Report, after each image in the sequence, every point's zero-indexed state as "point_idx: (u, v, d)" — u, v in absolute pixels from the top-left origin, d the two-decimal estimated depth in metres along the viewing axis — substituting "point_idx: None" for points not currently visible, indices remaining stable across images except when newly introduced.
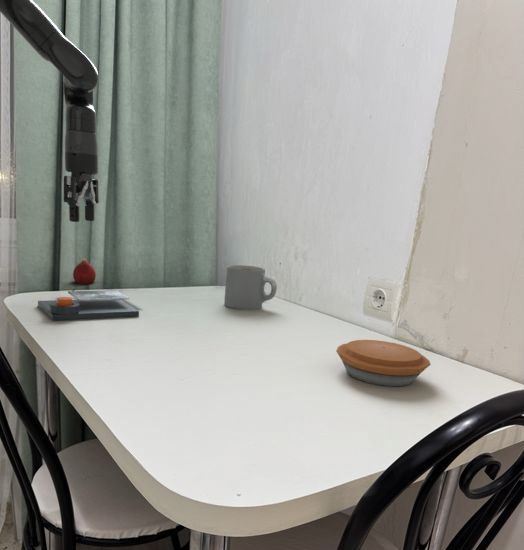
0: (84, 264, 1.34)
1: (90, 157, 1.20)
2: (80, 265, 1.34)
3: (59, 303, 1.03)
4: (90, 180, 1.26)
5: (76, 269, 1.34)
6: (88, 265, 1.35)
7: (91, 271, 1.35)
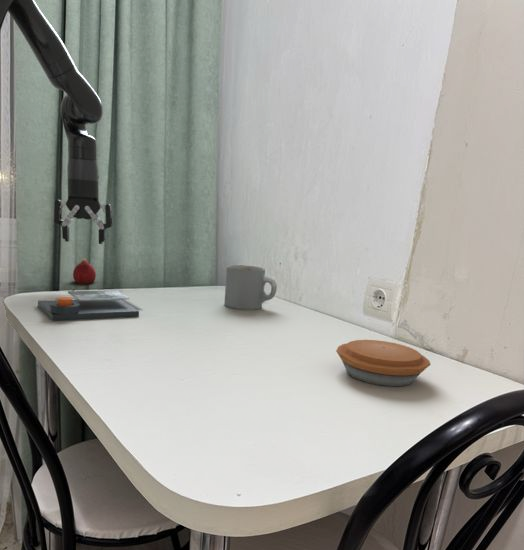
0: (84, 264, 1.34)
1: None
2: (80, 265, 1.34)
3: (59, 303, 1.03)
4: None
5: (76, 269, 1.34)
6: (88, 265, 1.35)
7: (91, 271, 1.35)
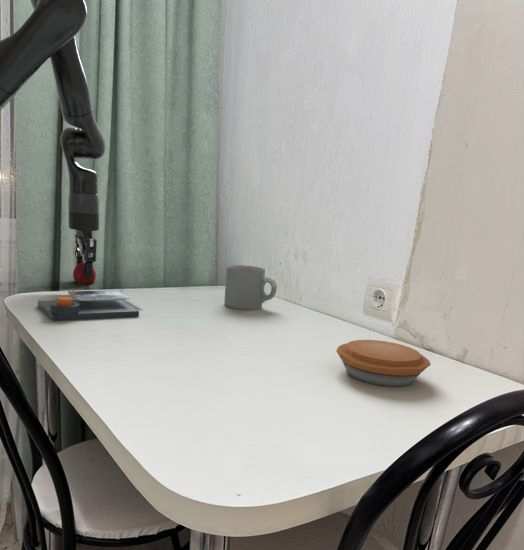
0: None
1: None
2: (80, 265, 1.34)
3: (59, 303, 1.03)
4: (82, 235, 1.31)
5: (76, 269, 1.34)
6: None
7: None
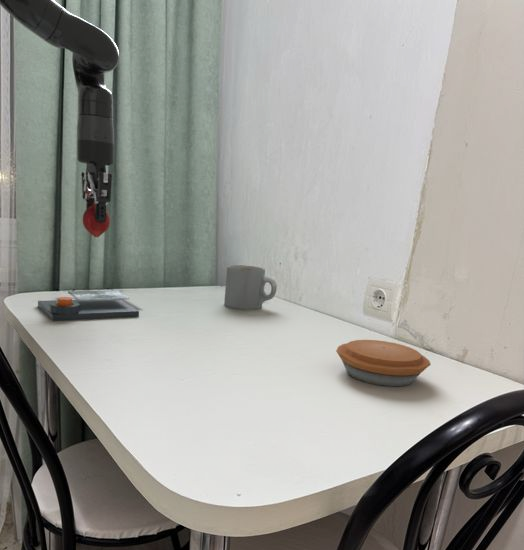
0: None
1: None
2: (91, 208, 1.10)
3: (59, 303, 1.03)
4: (94, 170, 1.07)
5: (86, 212, 1.10)
6: None
7: None
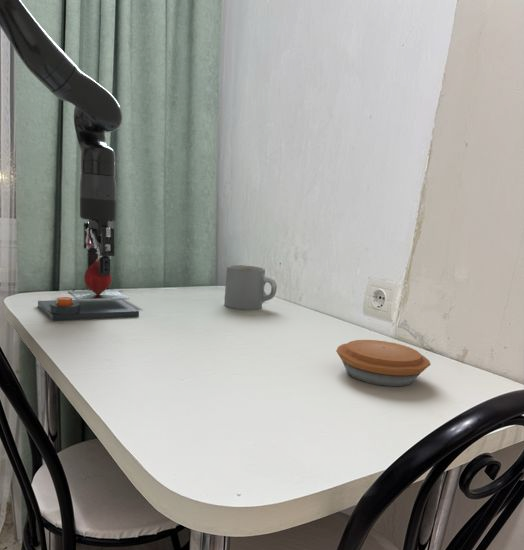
0: (98, 265, 1.11)
1: None
2: (93, 267, 1.11)
3: (59, 303, 1.03)
4: (96, 227, 1.08)
5: (88, 271, 1.11)
6: None
7: None
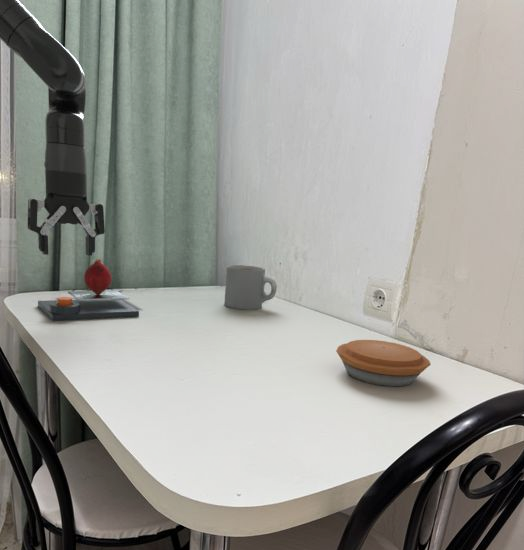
0: (98, 265, 1.11)
1: None
2: (93, 267, 1.11)
3: (59, 303, 1.03)
4: None
5: (88, 271, 1.11)
6: (103, 266, 1.12)
7: (106, 273, 1.12)
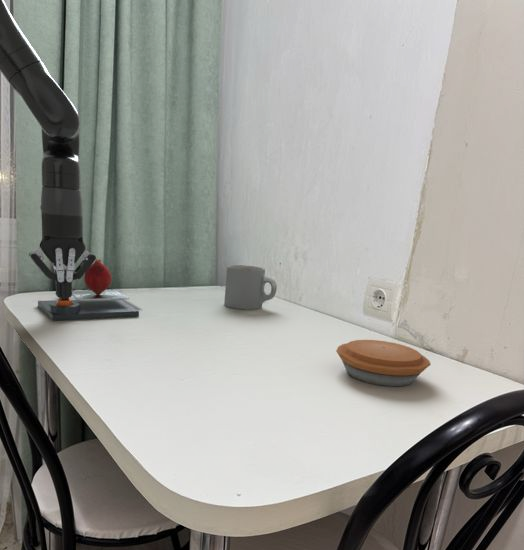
0: (98, 265, 1.11)
1: None
2: (93, 267, 1.11)
3: (59, 304, 1.03)
4: None
5: (88, 271, 1.11)
6: (103, 266, 1.12)
7: (106, 273, 1.12)
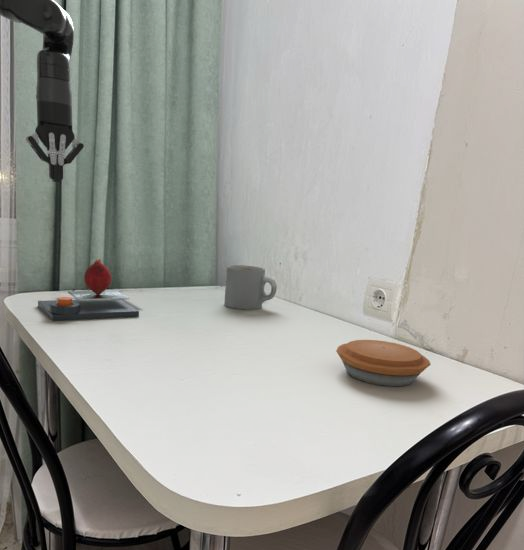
0: (98, 265, 1.11)
1: None
2: (93, 267, 1.11)
3: (59, 303, 1.03)
4: None
5: (88, 271, 1.11)
6: (103, 266, 1.12)
7: (106, 273, 1.12)
